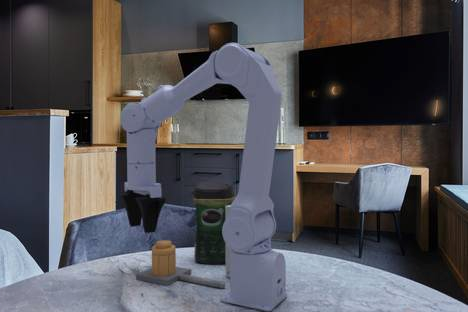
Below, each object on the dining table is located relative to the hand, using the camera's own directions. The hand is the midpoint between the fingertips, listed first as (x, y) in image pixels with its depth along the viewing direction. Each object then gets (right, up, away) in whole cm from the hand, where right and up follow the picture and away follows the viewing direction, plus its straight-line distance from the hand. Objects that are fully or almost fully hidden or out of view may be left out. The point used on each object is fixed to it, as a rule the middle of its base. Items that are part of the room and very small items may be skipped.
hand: (142, 229), depth 82 cm
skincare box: (+22, -10, +1) cm, 24 cm away
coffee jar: (+14, -10, +12) cm, 21 cm away
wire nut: (+4, -9, 0) cm, 10 cm away
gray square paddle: (+9, -10, -3) cm, 14 cm away
